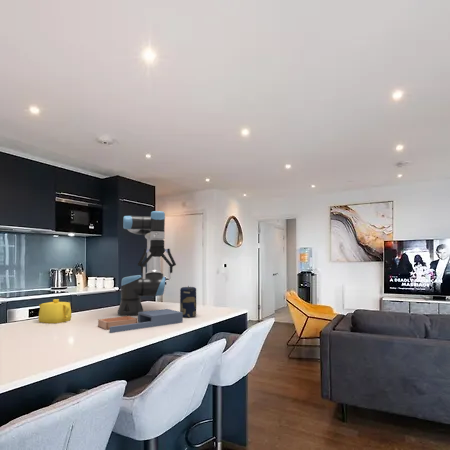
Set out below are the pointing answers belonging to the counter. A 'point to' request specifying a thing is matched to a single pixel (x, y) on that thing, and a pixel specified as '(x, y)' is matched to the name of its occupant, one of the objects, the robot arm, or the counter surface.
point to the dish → (116, 322)
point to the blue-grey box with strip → (152, 320)
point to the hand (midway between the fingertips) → (156, 279)
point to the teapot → (55, 312)
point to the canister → (188, 301)
